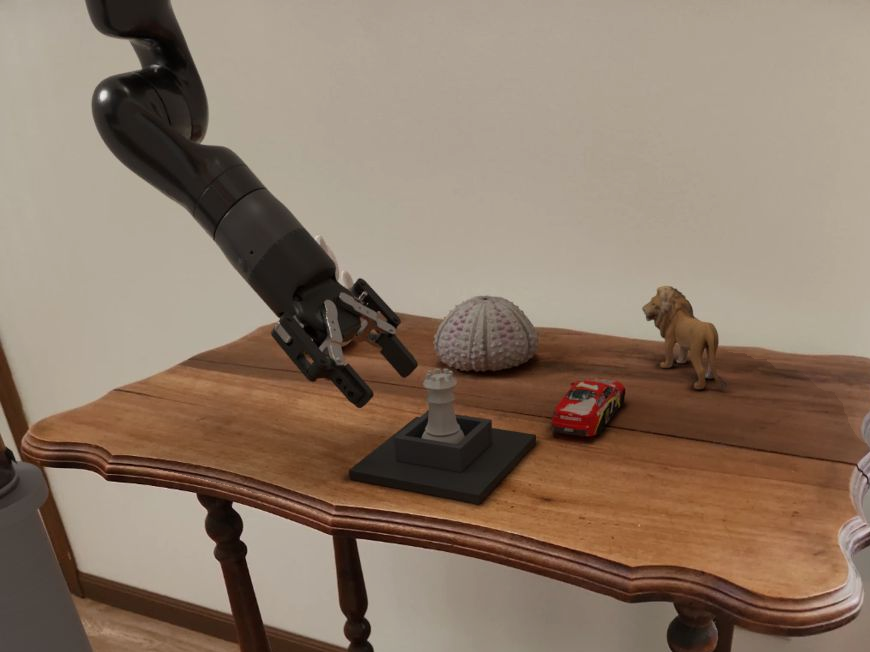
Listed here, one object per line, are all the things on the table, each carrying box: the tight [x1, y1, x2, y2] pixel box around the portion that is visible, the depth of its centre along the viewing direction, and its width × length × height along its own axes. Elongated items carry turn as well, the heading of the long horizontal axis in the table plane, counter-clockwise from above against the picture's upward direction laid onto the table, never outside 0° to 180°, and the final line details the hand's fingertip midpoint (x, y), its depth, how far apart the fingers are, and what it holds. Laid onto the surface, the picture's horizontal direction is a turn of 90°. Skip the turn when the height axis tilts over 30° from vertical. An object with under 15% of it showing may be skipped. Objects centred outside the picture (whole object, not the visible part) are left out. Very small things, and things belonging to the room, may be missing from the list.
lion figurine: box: [641, 285, 728, 390], centre depth 95 cm, size 15×5×9 cm, turn 24°
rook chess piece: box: [422, 367, 465, 444], centre depth 78 cm, size 4×4×8 cm
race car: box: [551, 377, 626, 438], centre depth 87 cm, size 13×5×4 cm, turn 153°
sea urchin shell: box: [432, 295, 540, 373], centre depth 102 cm, size 13×14×8 cm
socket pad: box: [348, 409, 537, 505], centre depth 80 cm, size 14×14×4 cm
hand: (390, 386), depth 79 cm, fingers open, 8 cm apart
